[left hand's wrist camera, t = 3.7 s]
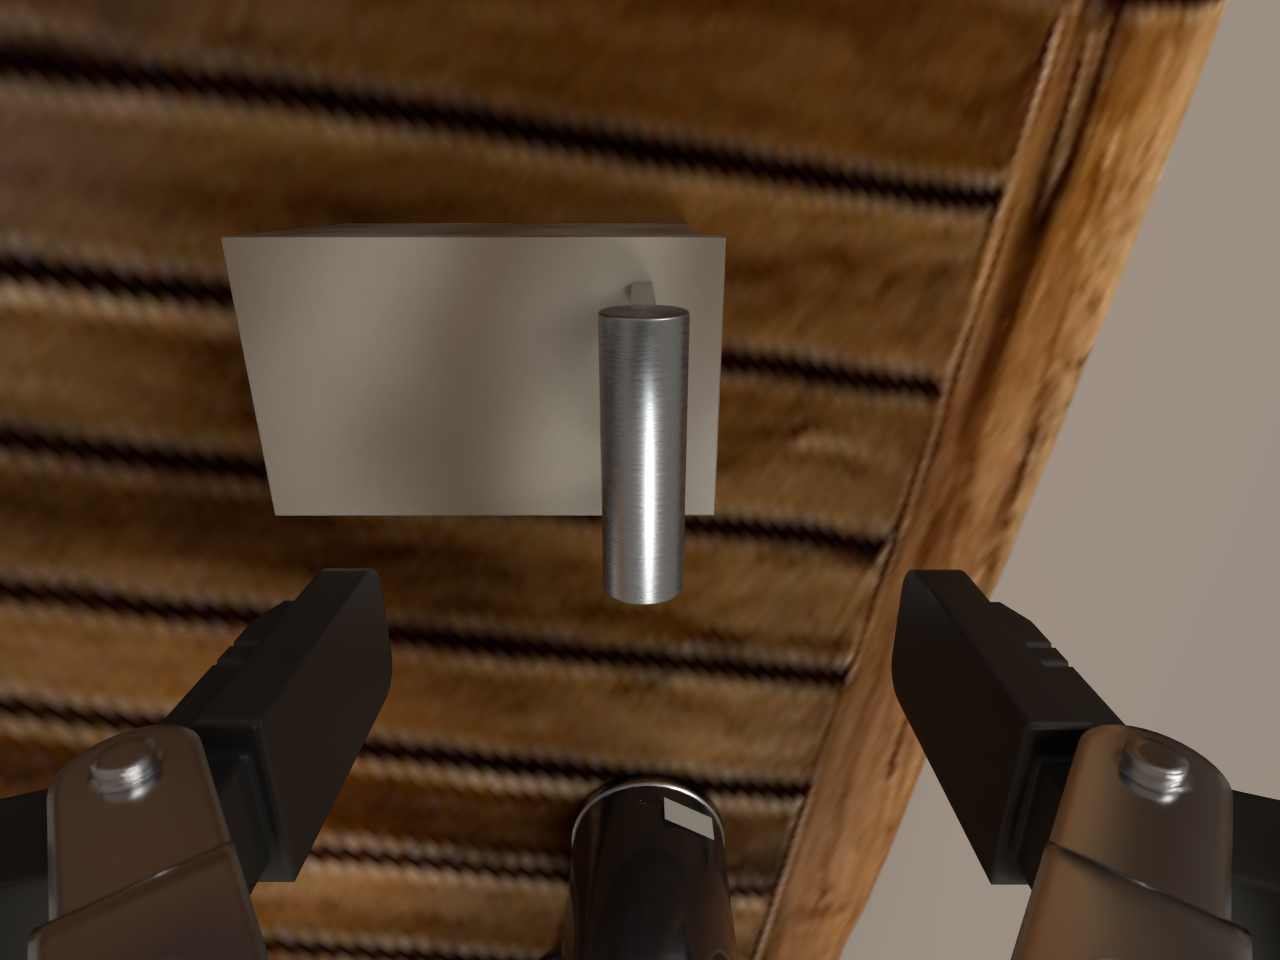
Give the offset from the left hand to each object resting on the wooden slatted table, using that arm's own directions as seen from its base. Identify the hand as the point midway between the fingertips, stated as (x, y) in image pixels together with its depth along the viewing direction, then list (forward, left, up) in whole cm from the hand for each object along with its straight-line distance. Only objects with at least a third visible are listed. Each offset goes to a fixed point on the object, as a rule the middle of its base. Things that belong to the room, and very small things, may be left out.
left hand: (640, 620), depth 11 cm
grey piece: (-1, +5, -16) cm, 17 cm away
